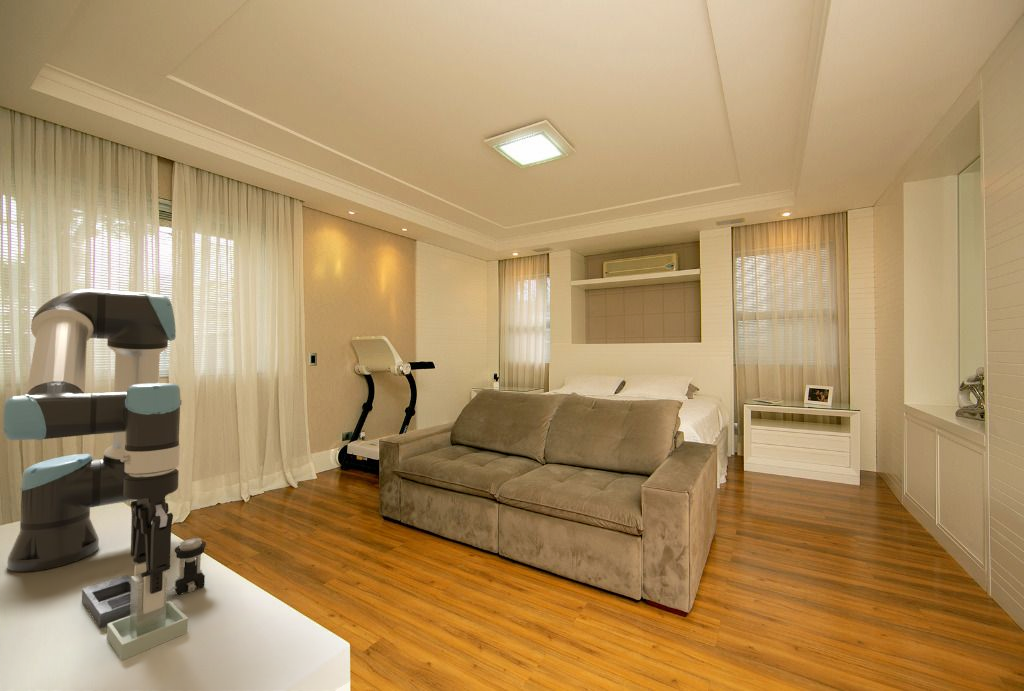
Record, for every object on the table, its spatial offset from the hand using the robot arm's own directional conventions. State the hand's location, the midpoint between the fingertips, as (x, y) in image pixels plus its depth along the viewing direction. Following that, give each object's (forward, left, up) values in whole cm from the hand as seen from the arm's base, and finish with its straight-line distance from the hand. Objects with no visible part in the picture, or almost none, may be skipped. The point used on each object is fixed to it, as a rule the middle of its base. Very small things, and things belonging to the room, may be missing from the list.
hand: (148, 603), depth 78 cm
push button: (-12, +9, -6) cm, 16 cm away
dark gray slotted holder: (-16, -1, -5) cm, 17 cm away
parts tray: (0, 0, -5) cm, 5 cm away
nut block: (0, 0, -5) cm, 5 cm away
